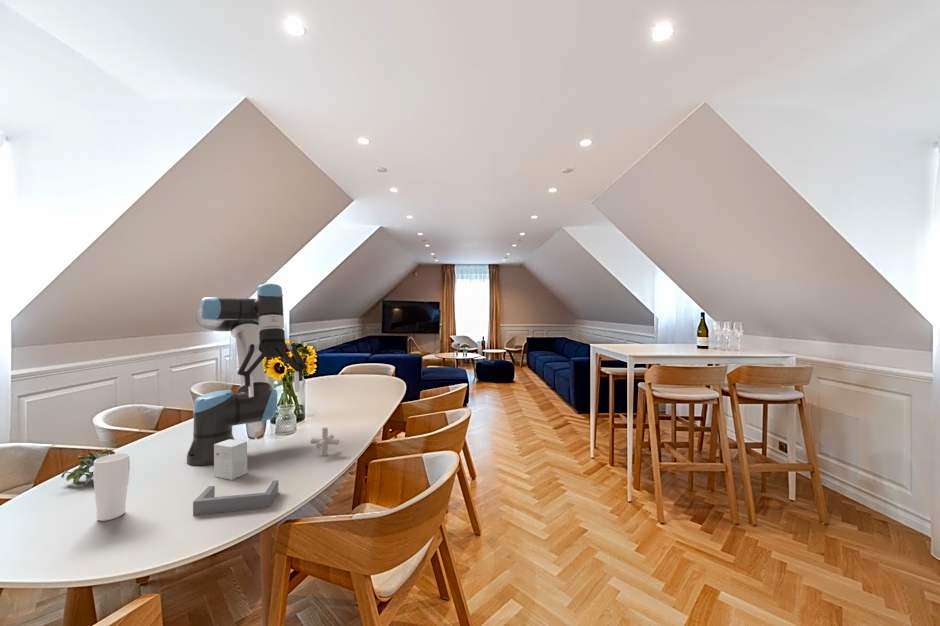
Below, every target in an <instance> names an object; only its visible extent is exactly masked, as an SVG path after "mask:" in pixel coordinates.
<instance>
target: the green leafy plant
mask: <svg viewBox="0 0 940 626" xmlns="http://www.w3.org/2000/svg"><path fill="white" fill-rule="evenodd" d="M101 452H102V453H101ZM111 454H117V453H116V452H115V451H113V450H112V449H108V448H104V449H100V452H95V451H92V450H91V451H89V454H87V455H86V456H81V455H78V456H77V459H79V460H80V464H79V466H78V468H75V469H74V470H72V471H69V470H64V471H63V473H62V474H61V476H60V477H61V478H64V477H65V474H68V475H66V477H65V480H66V481H67V482H69V481H70V480H71V479H73V480H72V481H73V483H76V484H78V483H79V480H80V479H81V477H82V476H84V475H85V483H84V485H83V488H85V487H86V486H87V484H88V483H89V482H90V481H91V480H92V478H93V471H90V469H91V467H94V461H95V460H96V459H98V458H100V457H103V456H106V455H111Z"/></svg>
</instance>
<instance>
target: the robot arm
mask: <svg viewBox="0 0 940 626" xmlns="http://www.w3.org/2000/svg"><path fill="white" fill-rule="evenodd" d="M256 289H257V293H256V295H257V296H256V297H257V298H242V297H238V298H236V297H233V298H232V297H216V296H211V297H203V298H202V299H201V301H200V307H199V309H198V310H197V311H196V314H195V320H196V323H197V324H198V325H200V327H202V328H203V329H207V330H210V331H215V332H230V335H231V336H232V337H233V338H234V339H235V342H236V353H237V361H238V362H237V363H238V370H237V374H236V375H238V376H239V378H240V379H239V380H240V386H239V387H238V389H237V391H236V393H234V392H233V390H231V389H225V390H223V389H222V390H216V391H211V392H207V393H204V394H201V395H199V396H198V397H196V398H195V399H194V401H193V410H192V413H193V431H192V434H193V435H192V436H193V437H192V441H191V445H190V446H189V449H188V452H187V454H186V463H187V464H188V465H191V466H209V465H214V444H216V443H219V442H222V441H226V440H229V439H232V440H235V437H234V434H233V426H239V425H244V424H245V425H246V424H252V423H259V422H260V423H261V422H263V421H269V420H272V419H273V418H274V417H275V415H276V412H277V407H278V391H277V389H275V388H272V385H271V383H269V382H268V381H266V375H265V374H266V373H265V368H264V361H263V360H264V359H265V358H266V359H271V358H274V359H275V358H276V359H277V358H279V357H280V358H281V359H283V361H284V362H286V363H287V364H288V365H289V367H291V369H293V370H294V372H293V385H294V386H293V387H294V388H293V389H294V393H298V392H300V391H301V390H300V389H301V388H300V382H302V381H303V376H302V375H303V374H302V371H303V370H304V371H305V370H307V368H308V365H307V364H306V362H305V361H304V359H303V358H302V356H301V355H300V353H299V351H298V349H297V344H296V342H292V343H286V334H285V330H284V328H285V317H284V300H283V299H284V295H283V288H282V286H280V285H279V284H276V283H263V284H259V285H258V287H257V288H256ZM287 349H288V350H289V351H290V352H291V354H292V356H293V358H294V359H295V360H293V359H292V357H290V355H288V353H287V352H286V350H287Z"/></svg>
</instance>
